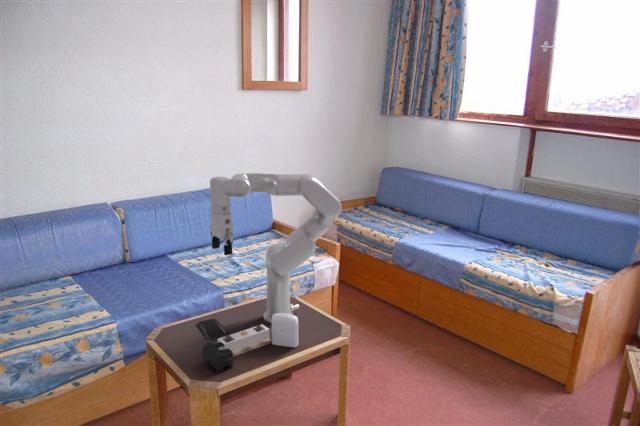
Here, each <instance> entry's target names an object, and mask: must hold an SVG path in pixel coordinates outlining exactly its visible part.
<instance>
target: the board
mask: <svg viewBox="0 0 640 426" xmlns="http://www.w3.org/2000/svg"><path fill="white" fill-rule="evenodd" d="M260 325H261V324H258V325H256V326H257V327H256V330H257V332H260V331H262V326H260ZM230 335H231V334H229V335H228V334H227V336H226V343H227V342H230V341H231V336H230ZM269 344H272V339H271V338H270V339H268V340H265V341H262V342H259V343H256V344H254V345H251V346H248V347H245V348H242V349H240V350H237V351H234V352H233V357H236V356H239V355H241V354H244V353H247V352H250V351H252V350H255V349H258V348H260V347H264V346H267V345H269ZM230 358H232V357H230ZM230 358H229V359H230Z"/></svg>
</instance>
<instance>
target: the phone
mask: <svg viewBox="0 0 640 426" xmlns="http://www.w3.org/2000/svg"><path fill="white" fill-rule="evenodd" d="M197 326H198V329H200V331H201V332H202V333H203V334H204V336H205V337H206V339H208V340H215V339H219V338H222V337H225V336H228V331H227V330H226V329H225V328H224V327H223V326H222V324H221V323H220V322H219V321H218V320H217V319H216V318H210V319H207V320H206V319H205V320H200V321H197Z"/></svg>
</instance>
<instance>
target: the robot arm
mask: <svg viewBox="0 0 640 426" xmlns="http://www.w3.org/2000/svg"><path fill="white" fill-rule="evenodd" d="M209 190H210V191H209V193H210V195H209V196H210V214H211V217H210V226H209V230H210V235H211V237H210V238H211V249H213V250H216V249H218V248H219V249H220V248H221V241H220V240H223V243H224V245H223V255H224V256H229V255H232V254H233V244H234V239H235V235H234V223H233V217H232V213H231V212H232V211H231V210H232V208H231V206H232V204H231V197H235V198H245V197H247V196H248V195H250V193H251V192H252V193H253V192H259V193H265V194H269V195H271V196H276V197H290V196H292V197H293V196H294V197H297V196H299V197H300V196H301V197H303V198H304V199H305V200H306V201H307V202H308V203H309V205H311V206H312V207H314V213H313V214H312V215H311V216H310V218H309V219H308V220H306V221H305V222H303V223H302V224H301V225H300V226H298V227H297V228H295V229H294V230H293V231H292V232H291V233H290V234H289V235H288V238H287V239H288V241H287V242H288V245H287V246H285V244H282V243H274V244H272V245H270V246H269V247H268V249H267V250H266V253H265V265H266V311H265V312H264V313H263V315H262V316H263V317H262V318H263V320H264V321H265V322H267V323H270V324H272V316H273V314H277V313H287V314H291V315H294V316H295V314H294V313H293V311H294V310H298V309H300V305H299V304H293V303H291V273H292V272H293V271H295V270H296V269H297V268H299V267H300V266H301V265H302V264H304V263H305V262H306V261H308V259H310V258H311V257H312V255H314V253H315V251H316V244H317V243H316V241H317V240H318V239H320V238H321V237H322V236H324V234H325V233H327V232H328V230H329V229H330V228H331V226H332V224H333V222H334V218H337V217H338V216H339V215H341V212H342V211H343V209H342V208H343V207H342V203H341V201H340V200H339V199H338V198H337V197H336V196H335V195H334V193H333V194H332V192H331V191H329V189H327V188H326V187H325V186H324V185H323V184H322V183H321V182H320V181H319V180H318V179H317V178H316V177H315V176H313V175H311V174H307V173H294V174H293V173H291V174H290V173H289V174H288V173H287V174H283V173H282V174H275V173H261V172H260V173H259V172H257V173H255V172H253V173H250V172H249V173H244V172H243V173H237V174H234V175H233V176H232V177H231V178H229V177H226V176H214V177H212V178H210V180H209Z"/></svg>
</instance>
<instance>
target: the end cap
mask: <svg viewBox="0 0 640 426" xmlns="http://www.w3.org/2000/svg"><path fill="white" fill-rule="evenodd" d="M223 346H224V344H223V343H221V342H219V343H218V342H216V343H214V344H211V343H210V342H207V343H206V344H204V346H203V347H202V349H201V351H200V352H201V357H202V358H203V359H204V360H205V361H206V362H207V363H208V364H209V365H210V366H212V368H214V369H215V370H216V371H217V372H220V373H222V372H223V373H224V372H226V371H228V370H231V369H233V366H234V365H233V364H234V360H233V359H230V357H231V358H232V357H234V356H233V352H232V351H231V350H230V349H229V348H228V349H225V350H221V349H219V348H220V347H223Z"/></svg>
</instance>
